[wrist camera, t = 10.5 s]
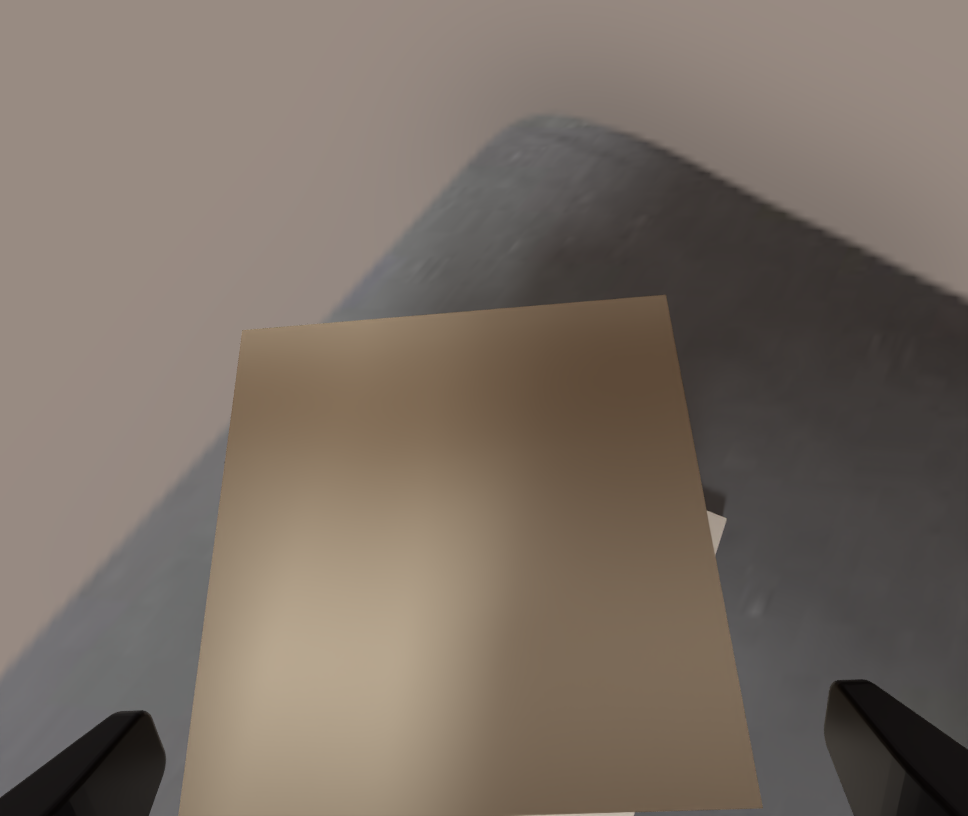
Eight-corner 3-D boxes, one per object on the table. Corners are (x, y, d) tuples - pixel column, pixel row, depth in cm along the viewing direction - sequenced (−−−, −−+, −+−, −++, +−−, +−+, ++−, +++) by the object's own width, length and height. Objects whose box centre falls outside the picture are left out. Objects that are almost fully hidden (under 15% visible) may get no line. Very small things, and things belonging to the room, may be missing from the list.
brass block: (625, 721, 15) (762, 808, 6) (399, 730, 15) (177, 825, 6) (599, 497, 17) (665, 294, 8) (401, 510, 17) (242, 330, 8)
